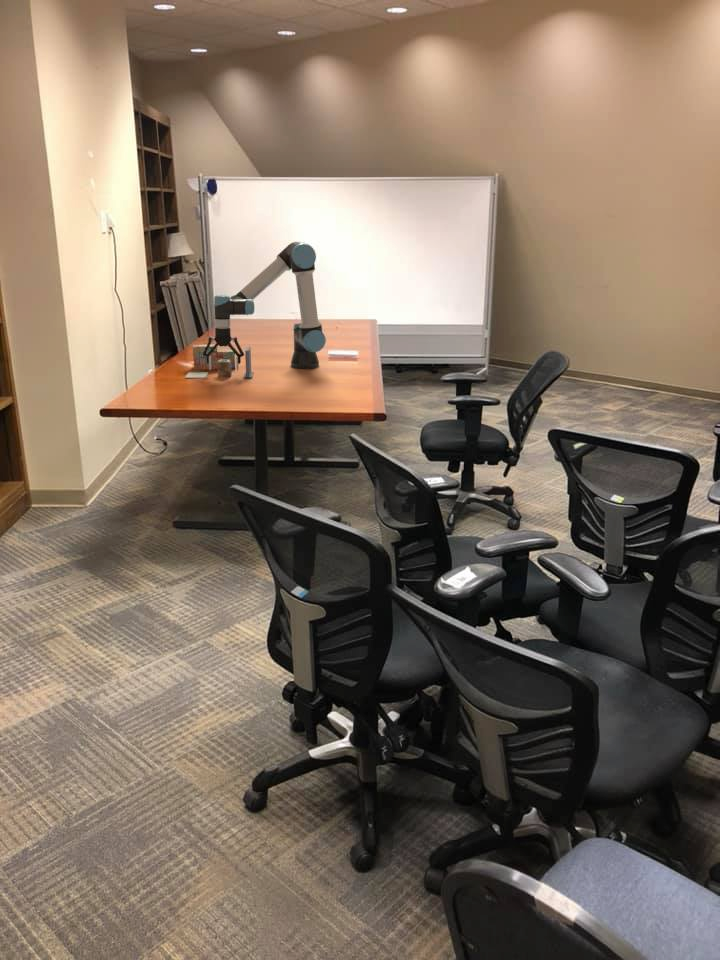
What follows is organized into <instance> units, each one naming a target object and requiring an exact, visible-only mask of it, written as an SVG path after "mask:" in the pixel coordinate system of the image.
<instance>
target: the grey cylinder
mask: <svg viewBox="0 0 720 960" xmlns="http://www.w3.org/2000/svg"><path fill="white" fill-rule="evenodd" d="M217 376H218V377H217V378H231V377H232V369H231V360H219V361H218V369H217Z"/></svg>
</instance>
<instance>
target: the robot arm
mask: <svg viewBox="0 0 720 960" xmlns="http://www.w3.org/2000/svg"><path fill="white" fill-rule="evenodd" d="M316 261H317V253H316V251H315V249H314V247H313V246H311V245H310V244H308V243H306V242H301V241H293V242H291V243H289V244H288V245H287V246H285V247H284V249H283V250H281V251H280V253H278V254H277V255H276V259H275V260H273V261H272V262H271V263H269V265H268V266H266V268H264V269H263V270H262V271H261V272H260V273H258V274H257V275H256V276H255V277H254V278H252V280H251V281H250V282H249V283H247V284H246V285H245V286H244V287H243V288H242V289H241V290H240V291H238V292H237V293H236V294H234V295H231V296H229V295H228V294H227V295H226V294H218V295H215V296H214V297H213V307H214V309H213V310H214V311H213V312H214V327H215V328H214V337H213V336H209V338H208V342H207V346H206V348H205V350H204V352H203V355H204V356H206V357H207V363H209V370H208V371H211V356H209V355H210V354H211V353H212V352H213V351H214V350H215V348H216V347H217V348H218V346H219V347H228V348H230V349H229V350H232V351H233V352H234V353H235V368H236V371H237V372H238V371H239V365H240V364H241V363H242V362H241V361H242V359H241V358H242V357H244V356H245V352H244V351H243V349H242V347H241V345H240V343H239V342H238V337H237V336H234V337H232V335H231V333H232V332H231V316H250V315H251V316H252V315H253V314H254V313H255V302H254V300H255V299H256V298H257V297H259V295H260V294H261V293H263V292H264V291H265V290H266V289H267V288H268V287H270V286H271V285H272V284H273V283H274V282H275V281H276V280H277V279H279V278H280V277H281V276H283V274H284V273H286V272H287V271H288V272H290V271H291V273H292V274H293V275H295V283H296V290H297V297H298V306H299V313H300V321H301V322H298V323H297V322H295V323H294V325H293V354H292V357H291V360H290V367H291V368H294V369H295V368H296V369H314V368H318V367H319V366H320V361H319V358H318V355H317V353H318V352H320V351H321V350H323V349H324V347H325V345H326V342H327V339H326V336H325V334H324V332H323V326H322V323H321V322H320V321H319V317H318V308H317V299H316V293H315V291H316V290H315V282H314V272H315V270H316V268H315V267H316V266H315V262H316ZM212 342H215V343H214V344H215V345H214V347H213V348H212V349H211V350H210V351H209V353H208V354H207V353H206V352H207V350H208V348H209V346H210V344H212ZM232 342H233V343H234V344H235V346H236V348H237V349H236V348H235V347H234V346H233V344H232Z"/></svg>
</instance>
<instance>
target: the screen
mask: <svg viewBox="0 0 720 960" xmlns="http://www.w3.org/2000/svg"><path fill="white" fill-rule="evenodd" d="M244 351H245V352H244V356H245V373H244V376H243V379H244V380H253V376H254V374H255V373H254V371H252V356H251V355H252V353H251V351H252V350H251V346H249V345H248V346H246V348H245V349H244Z"/></svg>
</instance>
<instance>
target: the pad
mask: <svg viewBox="0 0 720 960" xmlns="http://www.w3.org/2000/svg"><path fill="white" fill-rule="evenodd" d="M208 375H209V372H208V371H207V372H206V371H202V372H201V371H190V372H189V371H188V373H187V374H186V375H185V377H184V379H185V378H197V379H198V380H200V379H202V380H204V379H205V380H206V378H207V376H208ZM197 379H196V380H197Z"/></svg>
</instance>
